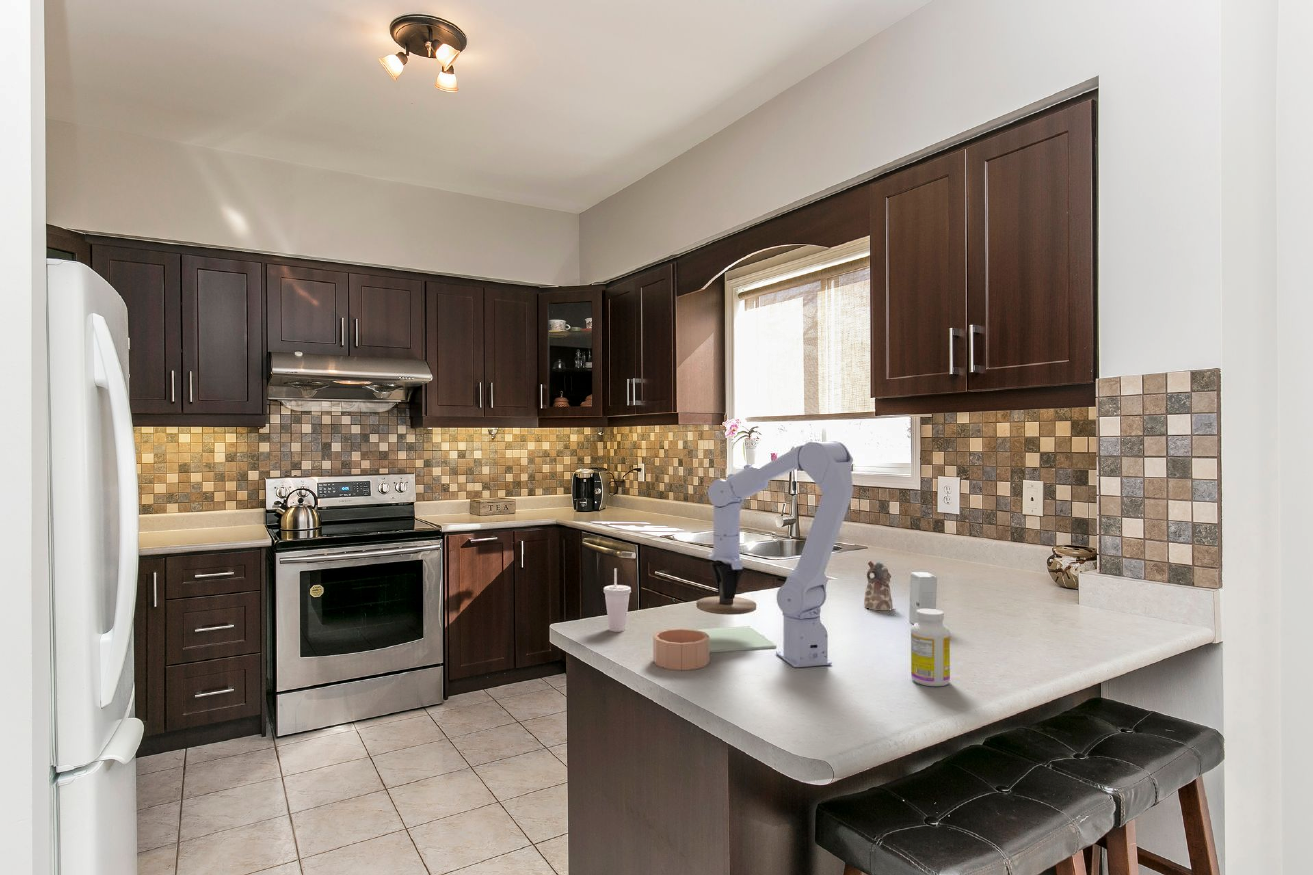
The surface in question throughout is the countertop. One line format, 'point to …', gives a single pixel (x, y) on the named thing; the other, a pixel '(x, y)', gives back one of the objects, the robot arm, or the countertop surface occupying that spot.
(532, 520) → the countertop surface
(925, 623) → the supplement bottle
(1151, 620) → the countertop surface
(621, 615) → the smoothie
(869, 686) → the countertop surface
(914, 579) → the skincare box
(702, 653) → the bowl
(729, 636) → the mat
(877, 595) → the figurine
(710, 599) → the lid
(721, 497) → the robot arm
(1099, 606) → the countertop surface
